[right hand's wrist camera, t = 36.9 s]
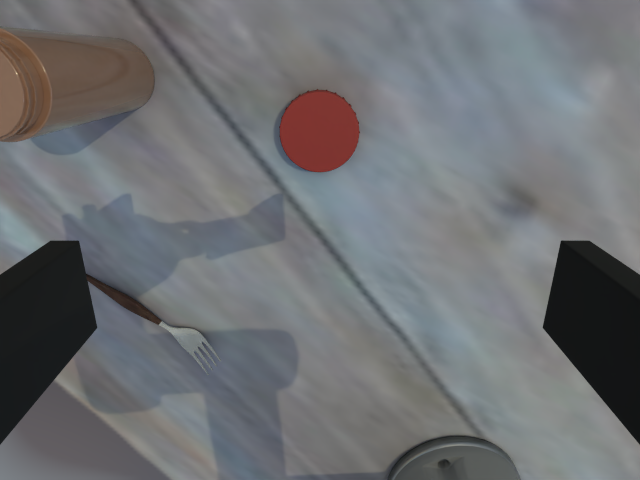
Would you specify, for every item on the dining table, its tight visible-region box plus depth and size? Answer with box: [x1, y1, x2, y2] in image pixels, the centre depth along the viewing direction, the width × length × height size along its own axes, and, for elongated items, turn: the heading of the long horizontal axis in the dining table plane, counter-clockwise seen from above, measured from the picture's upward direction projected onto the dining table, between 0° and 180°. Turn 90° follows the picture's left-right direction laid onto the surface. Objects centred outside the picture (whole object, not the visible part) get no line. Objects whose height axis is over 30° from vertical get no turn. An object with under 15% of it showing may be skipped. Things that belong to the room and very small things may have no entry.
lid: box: [279, 89, 360, 172], centre depth 38 cm, size 7×7×2 cm
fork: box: [86, 274, 221, 375], centre depth 44 cm, size 3×16×2 cm, turn 51°
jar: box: [0, 26, 154, 142], centre depth 29 cm, size 6×6×17 cm
